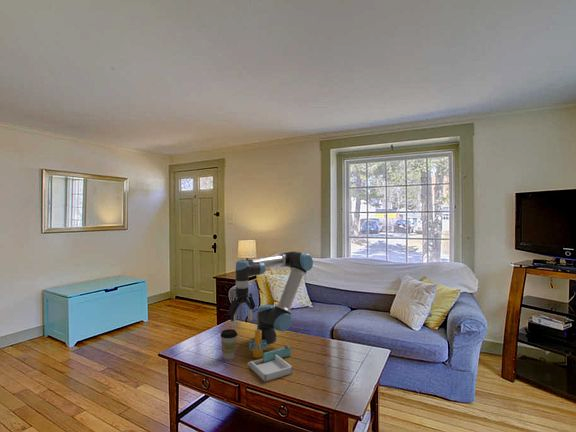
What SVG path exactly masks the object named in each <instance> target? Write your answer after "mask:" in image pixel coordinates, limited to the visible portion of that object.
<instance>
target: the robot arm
mask: <svg viewBox="0 0 576 432" xmlns="http://www.w3.org/2000/svg"><path fill="white" fill-rule="evenodd" d="M313 266H314V260H313V257H312V256H311V254H309V253H307V252H299V251H287V252H282V253H279V254H277V255H271V256H266V257H265V256H264V257H258V258H251V259H239V260H237V261H236V263H235V294H236V296H232V297H231V302H230V305H229V308H228V311H227V315H229V316H230V324H231V327H234V328H235V327H236V313H237V310H238V308H239V307H240V305H242V304H244V303H245V304H246V306H247V307H248V312H247V314H248V316H247V318H248V320H250V321H253V314H254V310H255V308H256V304H255V301H254V299H253V294H252V293H251V292H249V277H252V276H258V275H263V274H265V272H266V269H269V268H271V269H272V268H275V267H280V268H283V267H286V268H287V267H288V268H289V270H290V274H289V275H288V278H287V281H286V284H285V286H284V288H283V291H282V294H281V296H280V299H279V301H278V303H277V305H274V304H262V305H259V306H258V307H257V312H256V315H257V319H256V320H257V321H256V322H257V326H256V330H261V331H262V338H261V341H262V340H266V344H272V343H275V342H276V341H277V333H276V331H278V332H285V331H288V329H289V328H290V327H291V326H292V323H293V320H292V315H291V314H292V311H291V308H292V305H293V303H294V300H295V298H296V295H297V292H298V289H299V288H300V287H299V286H300V285H301V282H302V279H303V276H306V275H307V272H308V271H311V270H312V268H313ZM253 341H255V337H254V340H253ZM263 342H265V341H263ZM263 342H262V343H263Z"/></svg>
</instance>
